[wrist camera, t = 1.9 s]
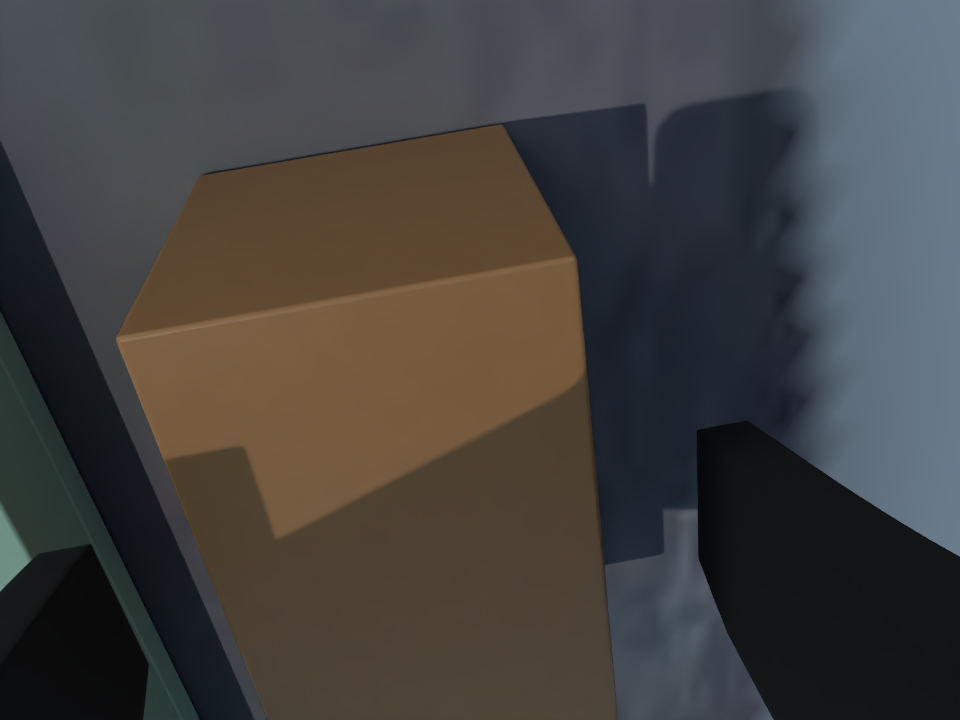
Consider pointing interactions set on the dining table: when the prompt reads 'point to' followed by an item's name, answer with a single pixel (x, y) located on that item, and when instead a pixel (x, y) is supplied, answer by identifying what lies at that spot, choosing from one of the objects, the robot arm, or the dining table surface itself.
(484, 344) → the block
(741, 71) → the dining table surface
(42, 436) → the tray
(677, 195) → the dining table surface
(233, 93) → the dining table surface
